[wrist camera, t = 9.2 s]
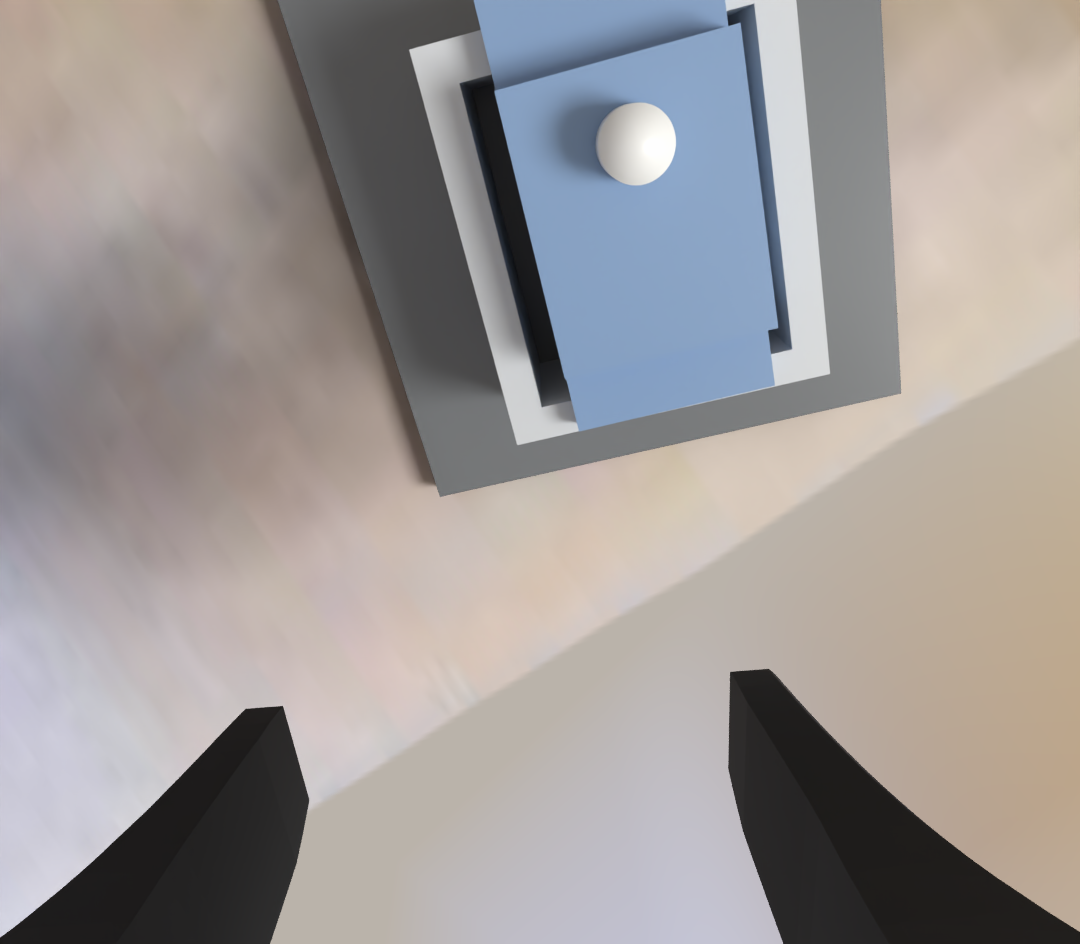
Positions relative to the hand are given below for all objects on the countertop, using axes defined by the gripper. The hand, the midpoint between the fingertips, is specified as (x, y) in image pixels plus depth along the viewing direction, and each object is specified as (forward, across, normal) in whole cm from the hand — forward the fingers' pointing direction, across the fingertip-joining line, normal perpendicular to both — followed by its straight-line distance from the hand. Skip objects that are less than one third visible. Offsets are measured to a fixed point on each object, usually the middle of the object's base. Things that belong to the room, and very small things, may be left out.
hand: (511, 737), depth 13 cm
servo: (+9, -3, -7) cm, 12 cm away
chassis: (+9, -3, -7) cm, 12 cm away
